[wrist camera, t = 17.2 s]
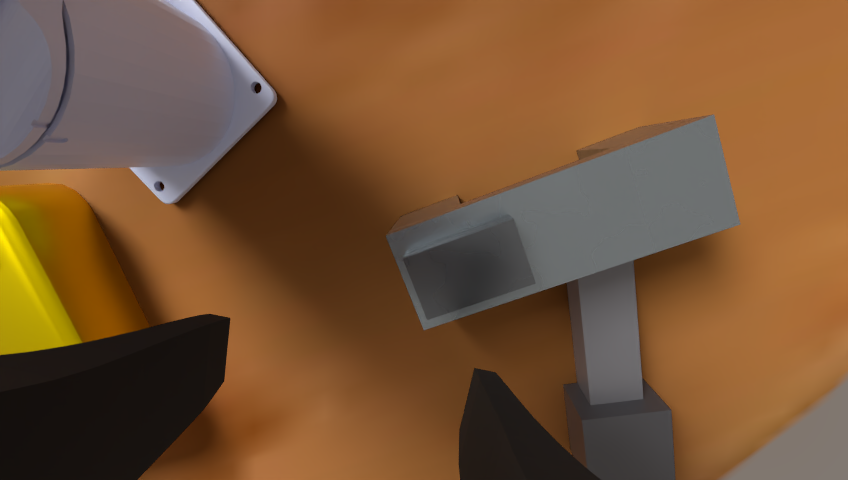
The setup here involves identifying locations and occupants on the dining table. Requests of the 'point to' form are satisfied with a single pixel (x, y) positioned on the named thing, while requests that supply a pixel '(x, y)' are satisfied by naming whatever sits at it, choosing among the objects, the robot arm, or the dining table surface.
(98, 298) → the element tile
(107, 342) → the robot arm
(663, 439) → the plug
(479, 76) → the dining table surface
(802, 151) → the dining table surface
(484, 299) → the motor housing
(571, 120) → the dining table surface
